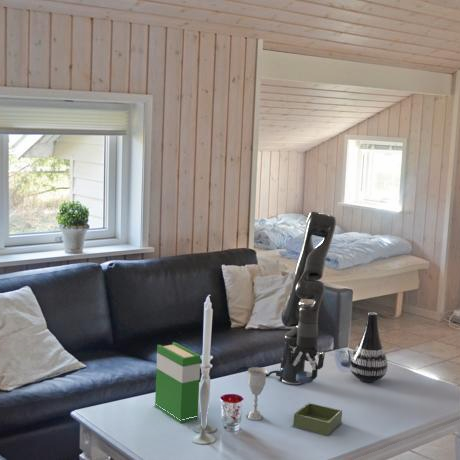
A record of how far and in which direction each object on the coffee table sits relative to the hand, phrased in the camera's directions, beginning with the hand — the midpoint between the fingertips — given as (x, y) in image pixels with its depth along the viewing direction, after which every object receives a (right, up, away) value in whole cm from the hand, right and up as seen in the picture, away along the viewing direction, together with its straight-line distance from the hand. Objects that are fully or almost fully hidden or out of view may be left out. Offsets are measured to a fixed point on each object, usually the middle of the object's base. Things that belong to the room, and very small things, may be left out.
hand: (304, 376), depth 289 cm
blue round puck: (0, -1, 0) cm, 1 cm away
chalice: (-19, -15, -2) cm, 24 cm away
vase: (+30, -10, +44) cm, 54 cm away
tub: (+4, -16, -6) cm, 18 cm away
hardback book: (-48, -13, -2) cm, 49 cm away
